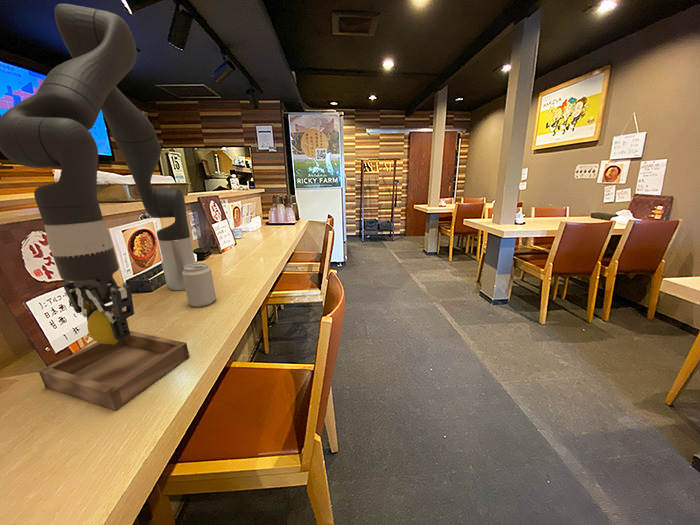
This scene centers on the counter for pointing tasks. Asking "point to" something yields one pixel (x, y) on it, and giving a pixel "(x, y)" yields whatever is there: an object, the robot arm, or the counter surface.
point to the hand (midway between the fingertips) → (111, 334)
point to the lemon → (101, 328)
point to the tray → (115, 369)
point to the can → (199, 284)
